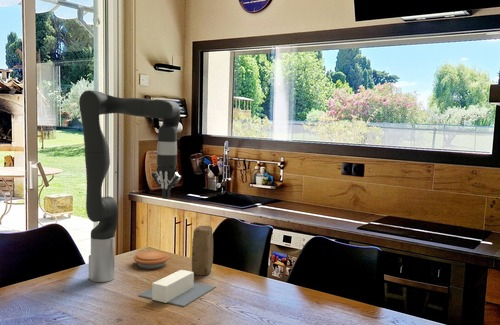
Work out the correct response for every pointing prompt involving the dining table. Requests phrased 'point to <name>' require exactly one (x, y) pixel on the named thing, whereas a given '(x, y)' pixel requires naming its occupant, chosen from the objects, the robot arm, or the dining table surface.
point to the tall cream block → (172, 286)
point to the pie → (151, 259)
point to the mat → (185, 294)
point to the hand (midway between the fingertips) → (165, 198)
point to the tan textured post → (202, 250)
